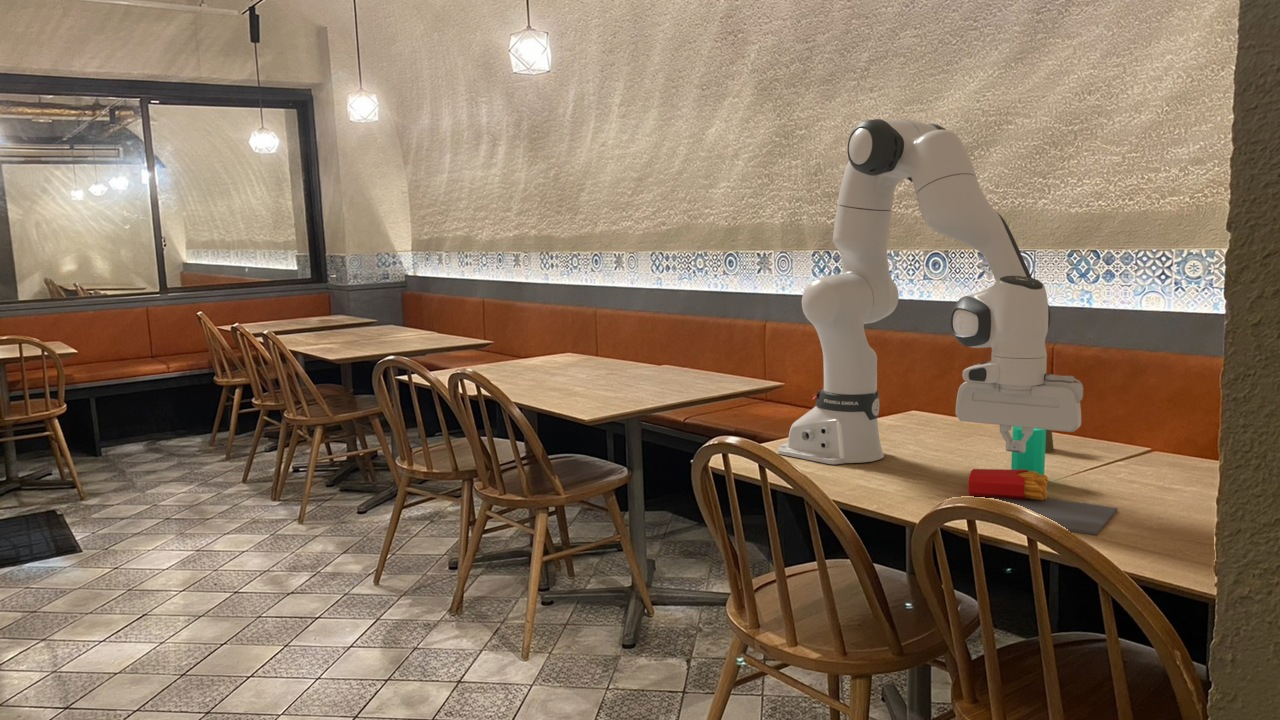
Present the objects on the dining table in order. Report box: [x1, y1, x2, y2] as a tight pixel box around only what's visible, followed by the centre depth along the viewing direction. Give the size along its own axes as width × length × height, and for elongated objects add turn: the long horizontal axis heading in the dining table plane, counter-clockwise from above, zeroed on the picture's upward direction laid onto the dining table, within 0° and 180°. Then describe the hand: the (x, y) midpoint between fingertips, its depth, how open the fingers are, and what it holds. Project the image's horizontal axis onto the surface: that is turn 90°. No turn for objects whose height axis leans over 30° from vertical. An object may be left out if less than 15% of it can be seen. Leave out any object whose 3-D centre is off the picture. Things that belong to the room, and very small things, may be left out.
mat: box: [989, 497, 1118, 536], centre depth 169 cm, size 20×16×1 cm
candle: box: [1010, 426, 1046, 475], centre depth 189 cm, size 6×6×12 cm
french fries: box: [967, 468, 1049, 500], centre depth 179 cm, size 9×4×13 cm
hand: (1015, 451), depth 171 cm, fingers closed
